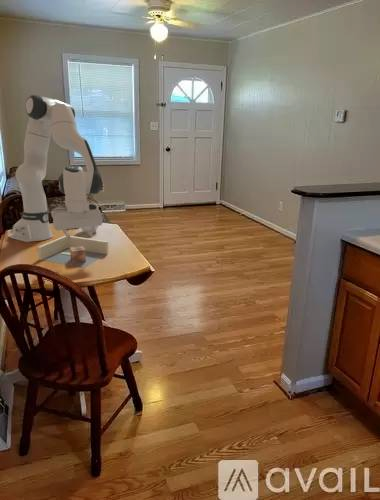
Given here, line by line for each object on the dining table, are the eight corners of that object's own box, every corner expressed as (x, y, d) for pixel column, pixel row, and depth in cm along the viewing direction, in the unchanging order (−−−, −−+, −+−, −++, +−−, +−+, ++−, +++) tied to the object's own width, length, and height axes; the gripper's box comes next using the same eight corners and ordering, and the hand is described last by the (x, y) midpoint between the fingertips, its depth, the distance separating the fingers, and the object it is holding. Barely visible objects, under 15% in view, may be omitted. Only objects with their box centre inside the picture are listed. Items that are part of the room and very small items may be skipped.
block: (72, 263, 163) (71, 250, 161) (70, 259, 168) (69, 246, 166) (85, 261, 166) (85, 249, 164) (83, 257, 170) (82, 245, 168)
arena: (39, 262, 167) (37, 246, 164) (67, 249, 184) (65, 235, 182) (84, 270, 160) (83, 254, 157) (108, 255, 177) (108, 241, 175)
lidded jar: (103, 232, 213) (102, 215, 210) (86, 235, 205) (85, 218, 202) (92, 228, 220) (91, 212, 217) (75, 231, 212) (74, 215, 209)
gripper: (51, 209, 152) (55, 242, 157) (102, 205, 161) (104, 236, 165) (49, 206, 158) (53, 238, 162) (98, 202, 166) (100, 232, 171)
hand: (79, 237), depth 164 cm, fingers open, 8 cm apart
